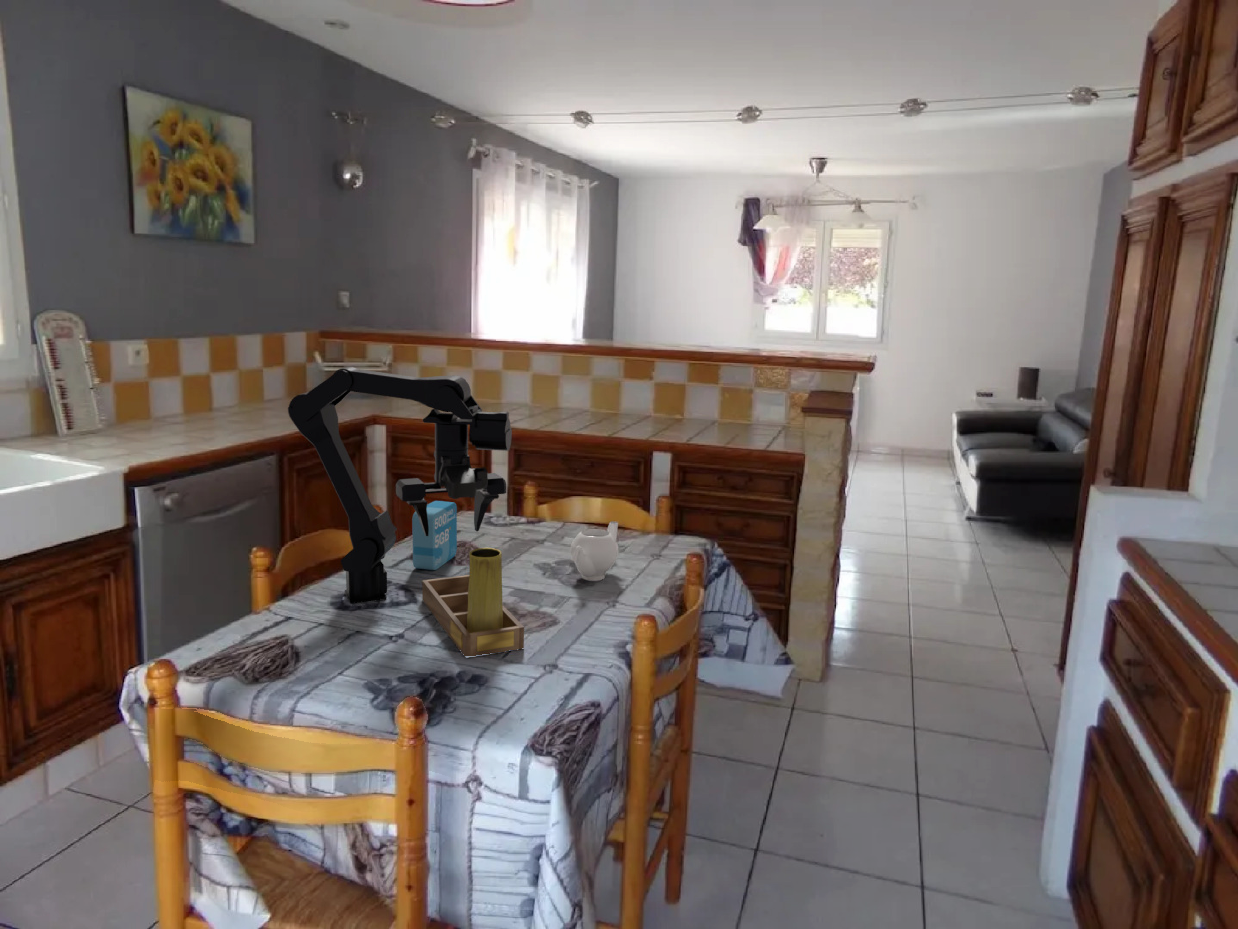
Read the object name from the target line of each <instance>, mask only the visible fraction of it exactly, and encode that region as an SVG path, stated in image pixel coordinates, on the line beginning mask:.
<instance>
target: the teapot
mask: <svg viewBox="0 0 1238 929" xmlns="http://www.w3.org/2000/svg"><path fill="white" fill-rule="evenodd" d="M618 527H619V522H618V521H610V522H609V524H608V526H607V529H606V530H605V529H600V528H588V529H583V530H581V531H579V533H577V535H576V536H575V538H574V539H573V540H572V542H571V544H570V555H571V559H570V561H571V562H573V563H574V564H575V566H576V569H577V571H578V572H579V574H581V579H583V580H585V581H589V582H598V581H603V580H604V579H605V578H606V573H607V572H608V571H609V570H611V568H612V567H613V565H614V564H615V562H616V561H617V559H618V555H619V549H620V548H619V545H618V543H617V536H618V535H617V534H618ZM602 579H603V580H602Z"/></svg>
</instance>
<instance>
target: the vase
mask: <svg viewBox="0 0 1238 929" xmlns="http://www.w3.org/2000/svg"><path fill="white" fill-rule="evenodd" d="M468 554H469V555H468V556H469V572H468V573H469V574H468V575H469V587H468V612H467V631H468V632H469V633H475V632H481V631H488V630H495V629H501V628H503V609H502V605H503V577H502V576H503V569H502V568H503V566H502V565H503V564H502V563H503V562H502V558H503V554H502V551H501V550H500V549H498V548H493V547H479V548H474V549H472V550H470V551H469V553H468Z"/></svg>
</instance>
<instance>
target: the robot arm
mask: <svg viewBox="0 0 1238 929" xmlns="http://www.w3.org/2000/svg"><path fill="white" fill-rule="evenodd" d="M351 392H354V393H361V394H367V395H375V396H383V397H388V398H396V399H402V400H404V399H405V400H410V401H414V402H416V403H419V404H421V405H423V406H426V407H428V408H431V410H430V412H429V413H428V415H427V416H426V417H424V418H423V419H422V422H423V423H425V424H434V451H433V457H434V463H435V466H434V468H435V470H434V471H435V472H434V474H433V478H434V481H435V482H423V481H422V480H421V479H420V478H419V477H418V478H417V477H416V478H415V477H413V478H402V479H398V480H397V482H396V483H395V495H396V496H397V498H399V499H400V500H401V501H402V502H406V503H407V504H408V505H409V506H412V507H413V509H414V511H415V512H416V513H417V516H418V518H419V521H420V523H421V526H422V529H423V531H424V534H425V536H428V534H429V527H428V518H427V505H428V501H427V500H426V499H425V497H426V496H427V495H429V494H440V493H441V494H442V493H447V496H448V497H449V498H451V499H453V500H457V499H460V498H471V499H472V498H473V499H474V505H473V506H474V510H473V511H474V512H473V525H474V531H475V532H479V531H480V527H481V525H482V523H483V520H484V517H485V515H486V512H487V510H488V508H489V505H490V504H491V503H492V502H493V501H494V500H497V499H499V497H500V495H505V494H507V482H506V480H505V479H504V478H503V477H502V476H501V475H499V474H498V473H496V472H491V473H488V469H487V468H486V467H483V466H482V467H475V468H472V465H471V459H470V458H471V456H470V455H469V443H470V444H471V446H474V448H475V449H476V450H482V451H484V450H486V451H503V452H504V451H505V452H508V451H510V449H511V445H512V436H513V431H512V428H511V420H510V418H509V417H510V414H509V412H508V411H497V412H495V411H493V412H492V411H483V409H482V408H481V407H480V405H479V403H478V402H477V401H476V400H475V398H474V397H473V395H472V393H471V392H472V391H471V387H470V384H469V383H468V382H467V380H466V379H465V378H464V377H462V376H459V375H438V376H435V375H434V376H426V377H416V376H411V375H410V376H409V375H405V374H404V375H403V374H397V373H396V374H395V373H389V372H388V373H387V372H380V371H374V370H367V369H366V370H365V369H360V368H359V369H358V368H356V367H353V366H347V367H342V368H339V369H337V370H335V372H334V373H333V374H332V375H330V376H329V377H328V378H327V379H325V380H324V381H322V382H321V383H319V384H318V385H317V386H315V387H314V388H312V389H311V390H310V391H307V392H304V393H300V394H297V395H295V396H294V397H293V398H292V399H291V400H290V402H289V404H288V407H287V413H288V417H289V418H290V420H291V421H292V423H293V424H294V426H295V428H297V430H298V432H299V433H300V434H301V435H302V436H303V437H304V438H305V439H307V441H309V442H310V443H311V444H312V445H313V447H314V448H315V450H316V452H317V454H318V456H319V459H320V461H321V464H323V467H324V470H325V472H326V474H327V476H328V478H329V480H330V482H331V484H332V486H333V488H334V490H335V492H336V494H337V496H338V499H339V501H340V503H341V506H342V507H343V510H344V511H345V513H346V515H347V518H348V533H349V539H350V541H351V546H352V549H351V550H350V551H348V553H346V554H345V556H343V557H342V558H341V559H340V563H341V567H342V570H343V571H344V572H345V582H346V583H345V586H346V587H345V588H346V589H344V594H345V596H346V599H347V600H348V602H349V604H350V605H351V604H353V605H354V604H361V603H368V602H369V603H370V602H376V601H377V602H378V601H385V600H387V593H388V572H387V570H386V569H385V568H384V567H385V565H384V563H383V562H382V560H383V559H384V558H386V554H387V553H388V552H390V550H392V548H393V547H394V545H395V543H396V540H397V536H396V531H397V527H396V526H395V525H394V524H393V521H392V520H391V517H390V513H389V511H388V510H387V509H386V510H384V511H382V512H380V511H379V510H378V509H377V508H375V506H374V505H373V504H372V502H371V499H370V497H369V495H368V494H367V492H366V489H365V487H364V485H363V483H362V481H361V479H360V477H359V474H358V472H357V470H356V468H355V466H354V463H353V462H352V460H351V457H350V455H349V453H348V451H347V449H346V447H345V445H344V443H343V440H342V438H341V436H340V432H339V431H340V429H339V428H340V426H339V417H338V416H339V415H338V412H337V409H336V406H337V405H338V404H340V403H341V402H342V401H343V400H344V399H346V398H347V396H349V394H351Z"/></svg>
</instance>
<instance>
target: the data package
mask: <svg viewBox="0 0 1238 929" xmlns="http://www.w3.org/2000/svg"><path fill="white" fill-rule="evenodd" d="M457 510H458V506H457V504H456V503H455V502H451V501H444V500H433V501H432V502H429V503H427V518H428V527H429V534H428V536H425V534H424V531H423V529H422V526H421V523H420V521H419V518H418V516H417V513H416V511H415V512H414V513H413V514H412V519H411V521H412V522H411V523H412V524H411V525H412V526H411V527H412V564H413V565H412V566H413V568H415V569H420V570H429V571H436V570H438V569H439V568H441V567H442V566H443V565H445V564H446V563H447V562H449V561H450V560H452V559H453V558H454V557H455V556H456V554H457V552H458V551H457V548H458V540H457V539H458V534H457V532H458V528H457V527H458V522H457V521H458V520H457V519H458V518H457V516H458V514H457V513H458V511H457Z"/></svg>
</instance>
